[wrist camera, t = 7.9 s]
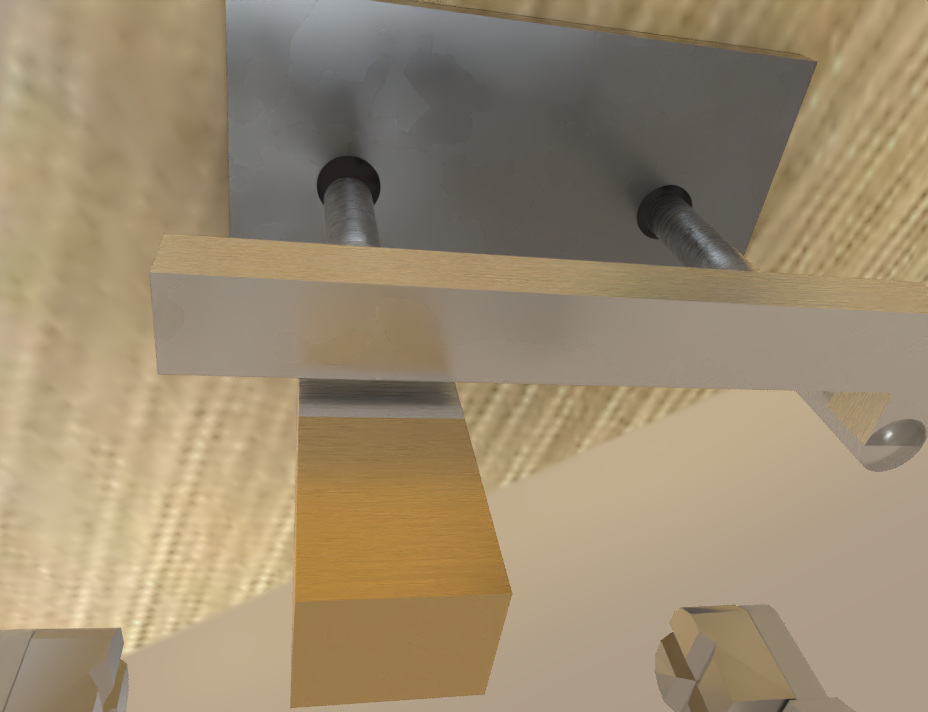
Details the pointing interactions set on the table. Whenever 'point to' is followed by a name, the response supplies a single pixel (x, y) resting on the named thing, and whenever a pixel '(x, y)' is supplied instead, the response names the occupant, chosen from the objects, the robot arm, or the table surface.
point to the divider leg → (388, 531)
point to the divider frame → (554, 323)
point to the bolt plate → (496, 127)
